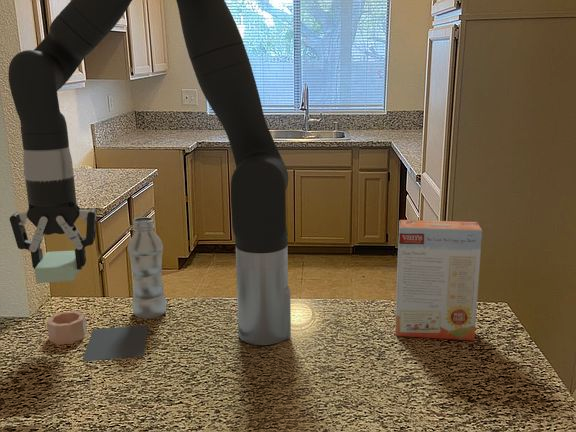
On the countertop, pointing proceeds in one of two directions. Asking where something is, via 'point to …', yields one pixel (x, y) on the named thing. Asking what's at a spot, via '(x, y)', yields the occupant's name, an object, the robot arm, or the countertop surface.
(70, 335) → the bowl
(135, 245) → the plastic bottle
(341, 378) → the countertop surface
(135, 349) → the mat
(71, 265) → the block
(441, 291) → the cracker box
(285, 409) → the countertop surface
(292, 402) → the countertop surface
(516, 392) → the countertop surface
